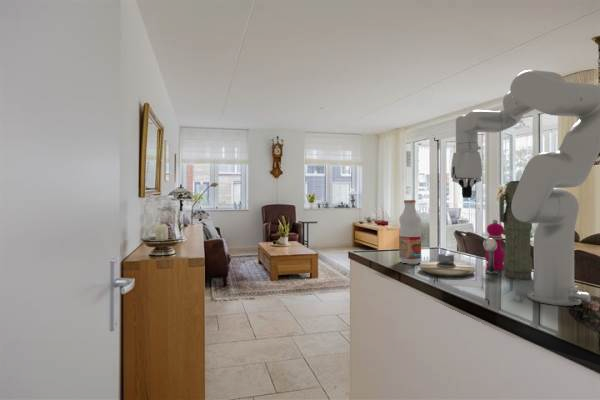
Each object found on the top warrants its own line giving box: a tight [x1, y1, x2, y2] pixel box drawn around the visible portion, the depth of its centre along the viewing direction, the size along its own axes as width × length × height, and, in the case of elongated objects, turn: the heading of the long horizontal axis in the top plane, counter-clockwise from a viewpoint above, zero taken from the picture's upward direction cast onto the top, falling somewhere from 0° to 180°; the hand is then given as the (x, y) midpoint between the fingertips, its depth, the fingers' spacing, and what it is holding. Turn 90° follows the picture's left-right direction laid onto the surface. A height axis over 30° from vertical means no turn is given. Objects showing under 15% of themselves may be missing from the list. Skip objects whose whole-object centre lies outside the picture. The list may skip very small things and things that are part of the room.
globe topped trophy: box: [482, 238, 498, 275], centre depth 140 cm, size 5×4×14 cm
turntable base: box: [424, 271, 470, 278], centre depth 143 cm, size 16×16×1 cm
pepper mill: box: [484, 219, 505, 271], centre depth 150 cm, size 7×7×20 cm
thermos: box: [499, 180, 534, 281], centre depth 133 cm, size 9×12×35 cm
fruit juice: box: [398, 199, 422, 265], centre depth 164 cm, size 9×9×28 cm
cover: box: [437, 253, 456, 268], centre depth 143 cm, size 7×7×4 cm
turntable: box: [418, 261, 476, 275], centre depth 143 cm, size 20×20×4 cm
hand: (466, 197), depth 138 cm, fingers closed
